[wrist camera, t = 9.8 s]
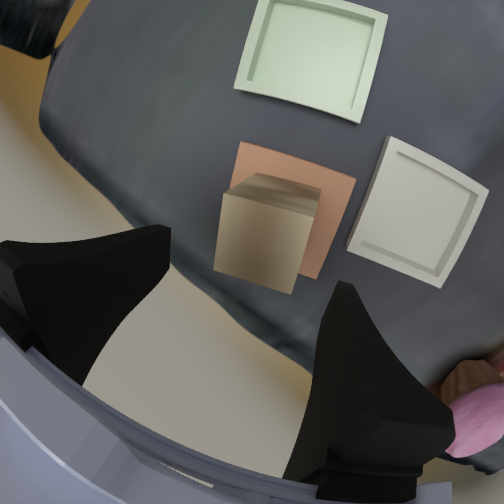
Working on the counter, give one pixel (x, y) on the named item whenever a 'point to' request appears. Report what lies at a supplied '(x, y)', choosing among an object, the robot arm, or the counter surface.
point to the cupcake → (474, 406)
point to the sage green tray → (313, 54)
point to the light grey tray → (416, 213)
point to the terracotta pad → (309, 173)
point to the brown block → (265, 230)
